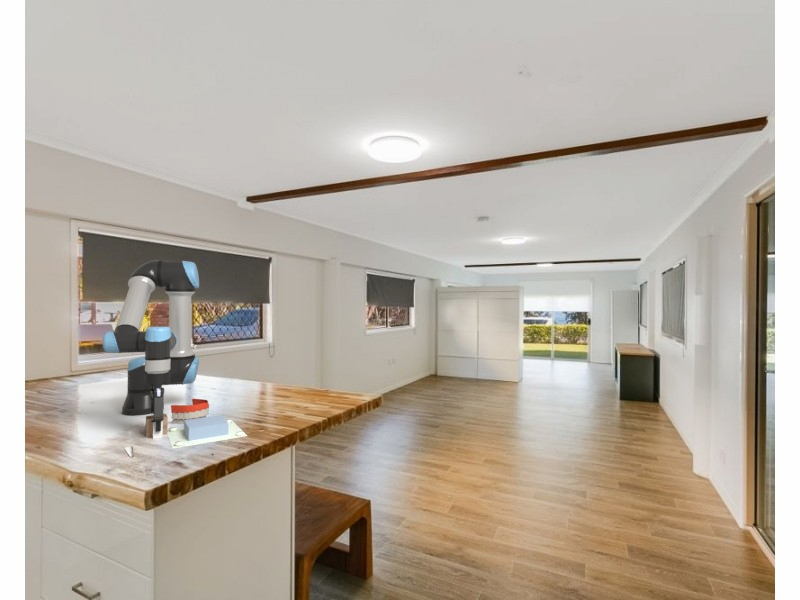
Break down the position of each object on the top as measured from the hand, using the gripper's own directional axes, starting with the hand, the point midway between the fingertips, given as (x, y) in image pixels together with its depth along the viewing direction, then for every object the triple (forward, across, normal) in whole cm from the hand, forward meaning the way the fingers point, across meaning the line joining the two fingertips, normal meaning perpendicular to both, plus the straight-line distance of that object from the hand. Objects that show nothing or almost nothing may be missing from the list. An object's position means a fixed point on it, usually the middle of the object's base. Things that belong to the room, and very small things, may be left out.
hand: (156, 436), depth 138 cm
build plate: (0, +9, +14) cm, 17 cm away
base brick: (-1, +9, +14) cm, 17 cm away
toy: (0, -11, +13) cm, 17 cm away
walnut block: (0, 0, 0) cm, 0 cm away
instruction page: (0, +12, -5) cm, 13 cm away
